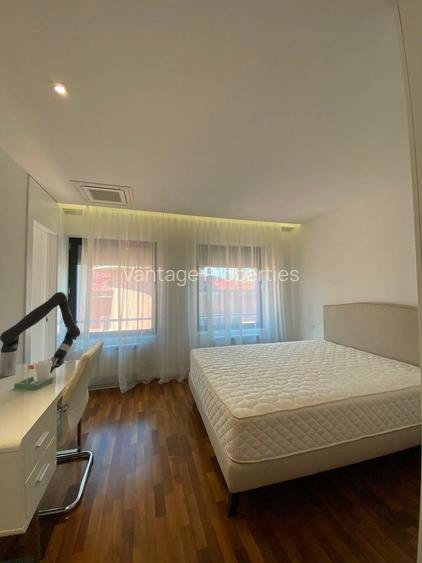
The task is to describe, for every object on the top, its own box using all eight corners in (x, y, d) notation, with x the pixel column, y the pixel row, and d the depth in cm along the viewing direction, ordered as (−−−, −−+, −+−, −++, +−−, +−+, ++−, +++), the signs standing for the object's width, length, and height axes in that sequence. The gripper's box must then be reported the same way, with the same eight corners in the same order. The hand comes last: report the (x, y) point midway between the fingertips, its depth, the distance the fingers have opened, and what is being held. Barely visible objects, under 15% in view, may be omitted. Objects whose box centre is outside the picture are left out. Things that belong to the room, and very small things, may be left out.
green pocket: (14, 388, 147) (15, 364, 148) (31, 380, 159) (32, 358, 160) (37, 389, 145) (38, 365, 146) (52, 382, 158) (54, 359, 159)
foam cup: (54, 379, 163) (55, 360, 164) (44, 384, 154) (45, 364, 155) (42, 378, 164) (43, 360, 165) (31, 383, 155) (32, 364, 156)
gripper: (51, 348, 175) (37, 369, 163) (68, 348, 174) (55, 370, 162) (56, 353, 180) (43, 374, 168) (72, 354, 179) (60, 375, 167)
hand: (49, 372), depth 165 cm, fingers closed
